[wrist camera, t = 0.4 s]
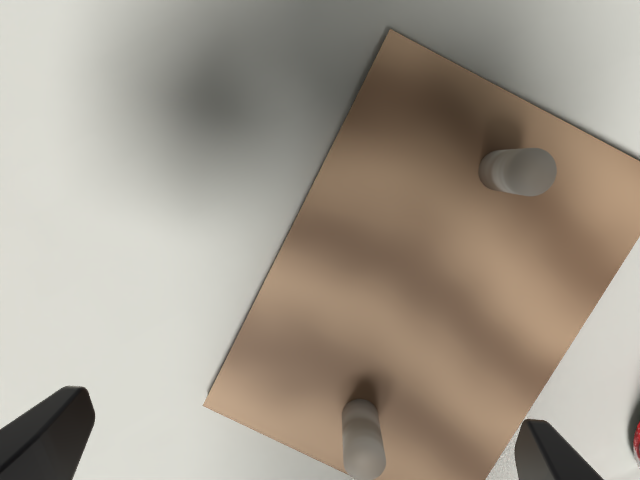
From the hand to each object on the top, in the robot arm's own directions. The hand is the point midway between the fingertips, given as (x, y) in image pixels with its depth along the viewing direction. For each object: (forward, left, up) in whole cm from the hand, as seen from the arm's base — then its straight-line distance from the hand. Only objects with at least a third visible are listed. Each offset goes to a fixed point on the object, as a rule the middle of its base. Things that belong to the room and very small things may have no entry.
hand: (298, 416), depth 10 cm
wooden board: (+2, -6, -16) cm, 17 cm away
